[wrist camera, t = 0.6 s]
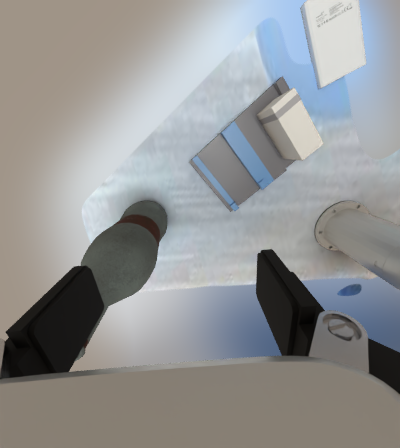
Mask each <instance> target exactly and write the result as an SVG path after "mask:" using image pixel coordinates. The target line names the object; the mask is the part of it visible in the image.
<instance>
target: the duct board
mask: <svg viewBox="0 0 400 448" xmlns="http://www.w3.org/2000/svg"><path fill="white" fill-rule="evenodd" d="M289 90H290V89H289V87H288V85H287V83H286V82H285V80H284V78H283V76H282V77H281V78H280V79H279V80H278V81H276V82H275V83H274V84H273V85H272V86H271V87H270V88H269V89H268V90H267V91H266V92H265V93H263V94H262V95H261V96H260V97H259V98H258V99H257V100H256V101H255V102H254V103H253V104H251V105H250V106H249V107H248V108H247V109H246V110H245V111H244V112H243V113H242V114H241V115H240V116H238V117H237V118H236V119H235V120H234V121H233V122H232V123H231V124H230V125H229V126H228V127H226V128H225V129H224V130H223V131H222V132H221V133H220V134H219V135H218V136H217V137H216V138H215V139H213V140H212V141H211V142H210V143H209V144H208V145H207V146H206V147H205V148H204V149H203V150H201V151H200V152H199V153H198V154H197V155H196V156H195V157H194V158H193V159H192V160H191V161H190V162H189V163H190V164H191V165H192V166H193V167H194V169H195V170H196V171H197V172H198V173H199V175H200V176H201V177H202V178H203V179H204V181H205V182H206V183H207V184H208V185H209V187H210V188H211V189H212V190H213V191H214V193H215V194H216V195H217V196H218V197H219V199H220V200H221V201H222V202H223V203H224V204H225V206H226V207H227V208H228V209H229V210H230V212H231V211H232V210H234V211H236V210H237V209H238V208H239V207H238V206H239V205H240V204H241V203H242V202H244V201H245V200H246V199H248V198H249V197H250V196H251V195H253V194H254V193H255V192H256V191H258V190H259V189H264V188H265V187H266V186H267V185H269V184H270V183H271V182H272V181H274V180H275V179H276V178H277V177H279V176H280V175H281V174H283V173H284V172H285V171H286V168H287V167H288V166H289V165H290V164H292V163H293V162H294V161H295V160H292V159H283V158H282V156H281V154H280V153H279V151H278V150H277V148H276V146H275V145H274V143H273V142H272V140H271V138H270V137H269V135H268V134H267V132H266V130H265V129H264V127H263V126H262V125H261V123H260V121H259V119H258V118H257V116H256V115H257V114H258V113H260V112H261V111H262V110H263V109H264V108H265V107H266V106H267V105H268V104H270V103H271V102H272V101H273V100H274V99H276V98H277V97H279V96H281V95H282V94H284V93H286V92H287V91H289Z"/></svg>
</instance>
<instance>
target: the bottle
mask: <svg viewBox="0 0 400 448" xmlns="http://www.w3.org/2000/svg"><path fill="white" fill-rule="evenodd" d="M166 229H167V216H166V213H165V211H164V209H163V208H162V207H161V206H160V205H158V204H157V203H155V202H152V201H141V202H138V203H135V204H133V205H131V206H130V207H129V208H128V209H126V211H125V212H124V214H123V216H122V217H121V219H120V221H118V222H117V223H116V224H114V225H113V226H111V227H110V228H108V229H107V230H105V231H103V232H102V233H101V234H100V235H99V236H97V237H96V238H95V240H94V241H93V242H92V244H91V245H90V246H89V248H88V250H87V251H86V253H85V255H84V257H83V259H82V262H81V266H88V268H91V270H92V273H93V275H94V278H95V281H96V284H97V286H98V289H99V292H100V295H101V297H102V300H103V303H104V310H103V313H102V314H101V316H100V318H99V320H98V321H97V323H96V325H95V327H94V328H93V330H92V332H91V334H90V335H89V337H88V339H87V341H86V342H85V344H84V346H83V348H82V349H81V351H80V353H79V355H78V356H77V358H76V360H78V359H80V358H81V357H83V355H84V354H85V348H86V346H87V344H88V343H89V341H90V339H91V337H92V335H93V334H94V332H95V330H96V328H97V326H98V325H99V323H100V321H101V319H102V317H103V315H104V314H105V312H106V310H107V308H108V306H110V305H112V304H114V303H116V302H118V301H120V300H122V299H125V298H127V297H129V296H131V295H133V294H135V293H136V292H137V291H139V290H140V289H141V288H142V287H143V285H144V284H145V283H146V282H147V280H148V279H149V277H150V275H151V274H152V272H153V270H154V268H155V265H156V261H157V253H158V247H159V242H160V240H161V239H162V237H163V236H164V234H165V233H166ZM76 360H75V361H76Z"/></svg>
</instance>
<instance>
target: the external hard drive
mask: <svg viewBox="0 0 400 448" xmlns="http://www.w3.org/2000/svg"><path fill="white" fill-rule="evenodd" d="M300 10H301V14H302V20H303V24H304V29H305V34H306V39H307V43H308V49H309V53H310V58H311V63H312V64H313V68H314V72H315V77H316V82H317V87H318V89H320V88H322V87H324V86H326V85H328V84H330V83H332V82H334V81H335V80H337V79H339V78H341V77H343V76H345V75H346V74H348V73H350V72H352V71H354V70H356V69H358V68H360V67H361V66H363V65H365V64H366V58H365V50H364V41H363V33H362V24H361V16H360V8H359V0H307V1H306V2H305V3H304V4H303V5H302V6H301V8H300Z"/></svg>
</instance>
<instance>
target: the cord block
mask: <svg viewBox="0 0 400 448" xmlns="http://www.w3.org/2000/svg"><path fill="white" fill-rule="evenodd" d="M256 116H257V118H258V119H259V121H260V123H261V125H262V126H263V127H264V129H265V130H266V132H267V134H268V135H269V137H270V138H271V140H272V142H273V143H274V145H275V146H276V148H277V150H278V151H279V153H280V154H281V156H282V158H283V159H292V160H302V161H303V160H304V159H305V158H306V157H308V156H309V155H310V154H312V153H313V152H314V151H315V150H317V149H318V148H319V147H320V146H322V145H323V144H324V143H323V141H322V139H321V137H320V135H319V133H318V132H317V130H316V128H315V126H314V124H313V122H312V120H311V118H310V116H309V114H308V112H307V111H306V109H305V107H304V105H303V103H302V101H301V98H300V96H299V95H298V93H297V91H296V90H295V88H292V89H291V90H289V91H287V92H286V93H284V94H282V95H281V96H279V97H277V98H276V99H274V100H273V101H272V102H271V103H270V104H268V105H267V106H266V107H265V108H264V109H263V110H262V111H261V112H260V113H258V114H257V115H256Z"/></svg>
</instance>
